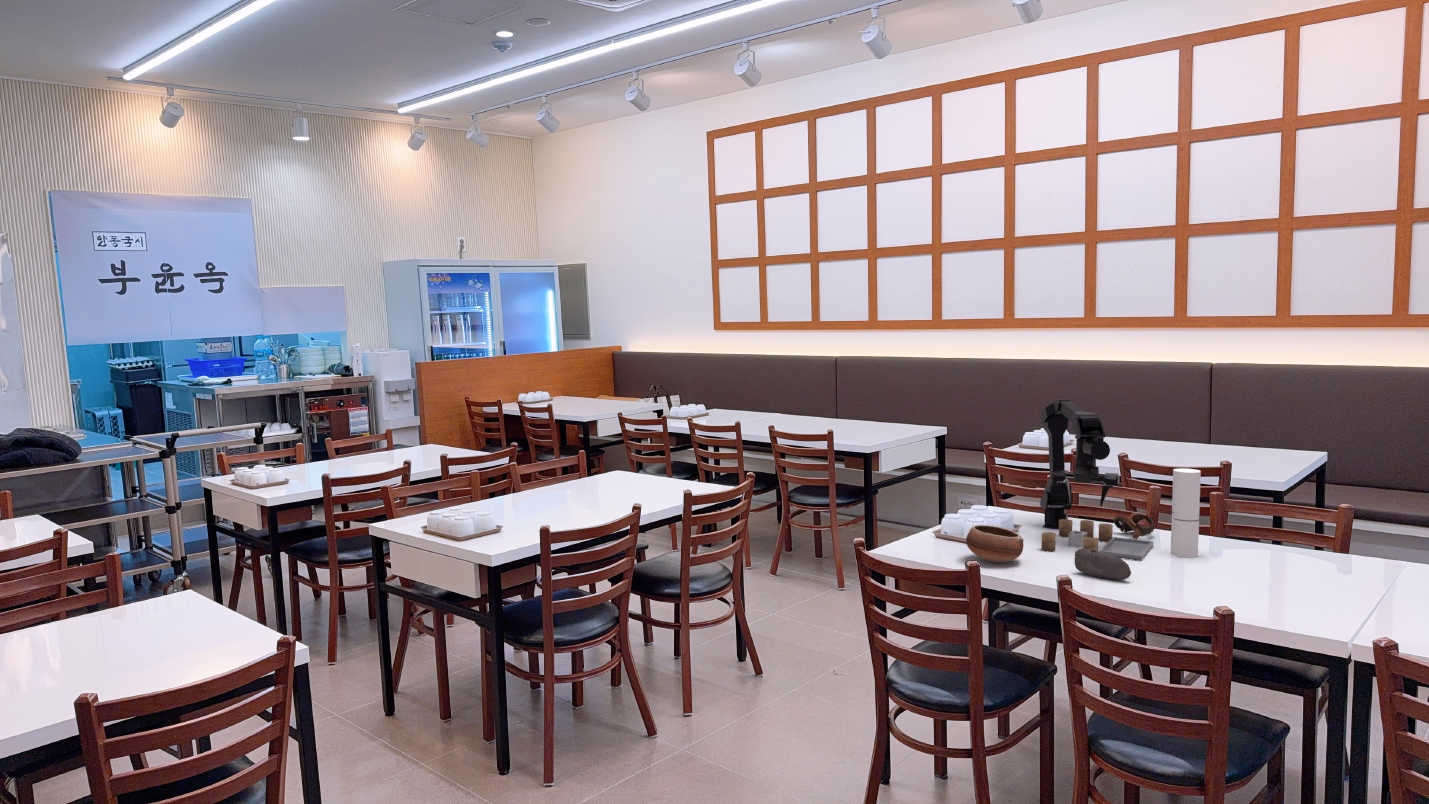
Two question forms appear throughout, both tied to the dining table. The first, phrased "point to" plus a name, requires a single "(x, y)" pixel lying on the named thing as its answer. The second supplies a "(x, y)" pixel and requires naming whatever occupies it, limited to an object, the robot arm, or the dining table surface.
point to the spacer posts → (1085, 526)
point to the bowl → (994, 543)
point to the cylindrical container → (1185, 512)
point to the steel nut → (1076, 538)
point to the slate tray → (1127, 548)
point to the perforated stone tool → (1101, 564)
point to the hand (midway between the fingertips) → (1085, 505)
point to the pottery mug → (1134, 524)
